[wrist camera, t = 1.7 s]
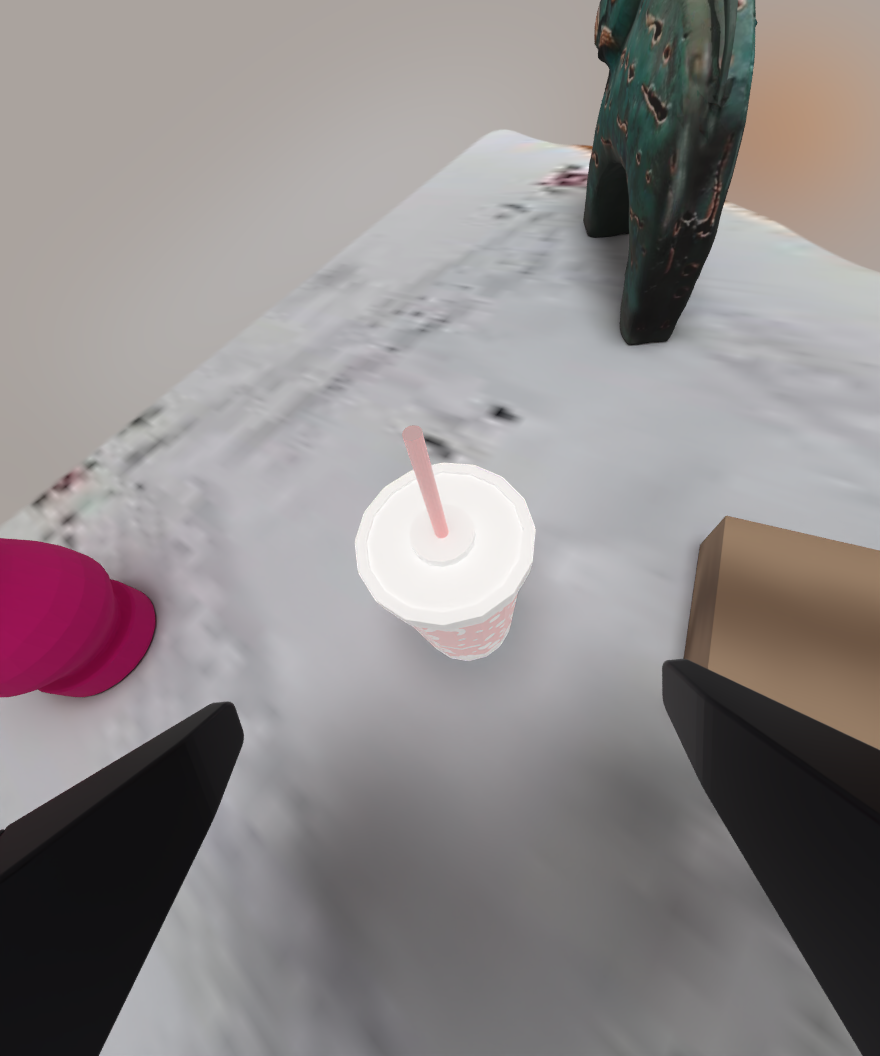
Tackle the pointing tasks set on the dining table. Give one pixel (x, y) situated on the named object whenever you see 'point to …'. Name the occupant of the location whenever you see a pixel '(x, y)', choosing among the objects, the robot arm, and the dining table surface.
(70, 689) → the pepper mill
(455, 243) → the dining table surface
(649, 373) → the dining table surface
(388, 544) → the beverage cup
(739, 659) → the walnut block
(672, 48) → the ceramic cat
